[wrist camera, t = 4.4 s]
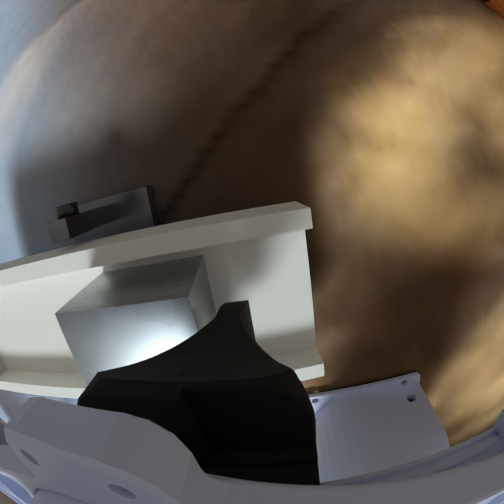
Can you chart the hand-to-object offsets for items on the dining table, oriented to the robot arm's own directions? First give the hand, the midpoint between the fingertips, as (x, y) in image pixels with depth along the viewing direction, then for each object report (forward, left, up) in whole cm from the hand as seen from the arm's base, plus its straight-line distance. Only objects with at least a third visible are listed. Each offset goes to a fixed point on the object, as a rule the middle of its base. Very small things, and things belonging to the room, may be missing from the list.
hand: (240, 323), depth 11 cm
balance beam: (+8, 0, -2) cm, 8 cm away
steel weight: (+4, 0, -2) cm, 4 cm away
